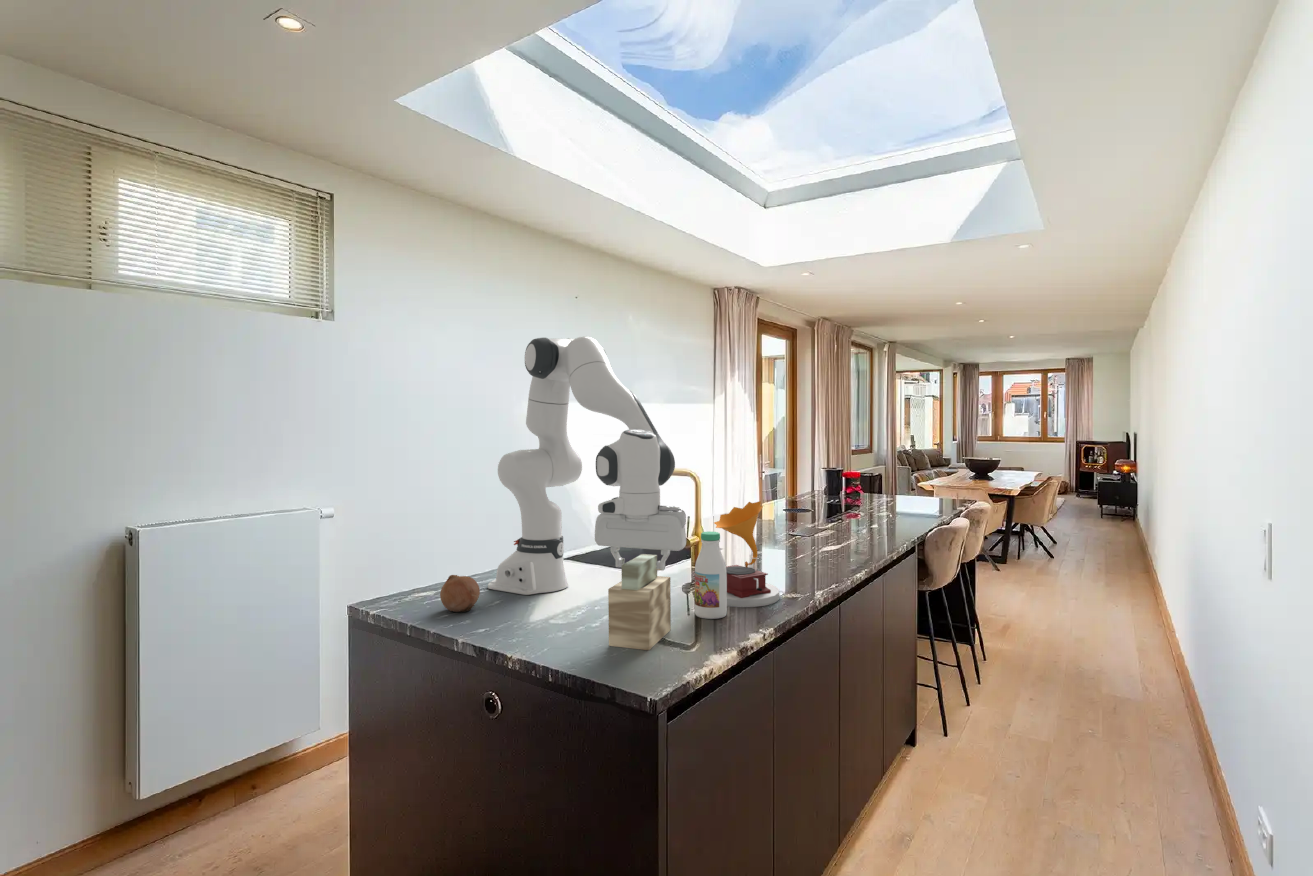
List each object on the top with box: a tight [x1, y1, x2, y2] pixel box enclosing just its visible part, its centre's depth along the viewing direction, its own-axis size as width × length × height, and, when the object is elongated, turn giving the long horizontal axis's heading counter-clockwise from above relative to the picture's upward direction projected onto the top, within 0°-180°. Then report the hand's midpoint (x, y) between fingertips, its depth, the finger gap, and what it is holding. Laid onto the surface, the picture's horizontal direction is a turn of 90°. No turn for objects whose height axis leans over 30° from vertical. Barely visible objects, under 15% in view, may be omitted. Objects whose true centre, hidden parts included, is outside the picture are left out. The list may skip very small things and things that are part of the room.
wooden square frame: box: [607, 575, 672, 651], centre depth 149 cm, size 14×9×12 cm, turn 160°
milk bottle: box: [694, 531, 728, 620], centre depth 165 cm, size 8×8×20 cm
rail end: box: [621, 553, 658, 590], centre depth 149 cm, size 12×4×9 cm, turn 160°
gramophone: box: [713, 501, 780, 608], centre depth 182 cm, size 20×20×25 cm
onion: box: [439, 574, 481, 613], centre depth 171 cm, size 10×9×10 cm
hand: (640, 568), depth 149 cm, fingers open, 8 cm apart
